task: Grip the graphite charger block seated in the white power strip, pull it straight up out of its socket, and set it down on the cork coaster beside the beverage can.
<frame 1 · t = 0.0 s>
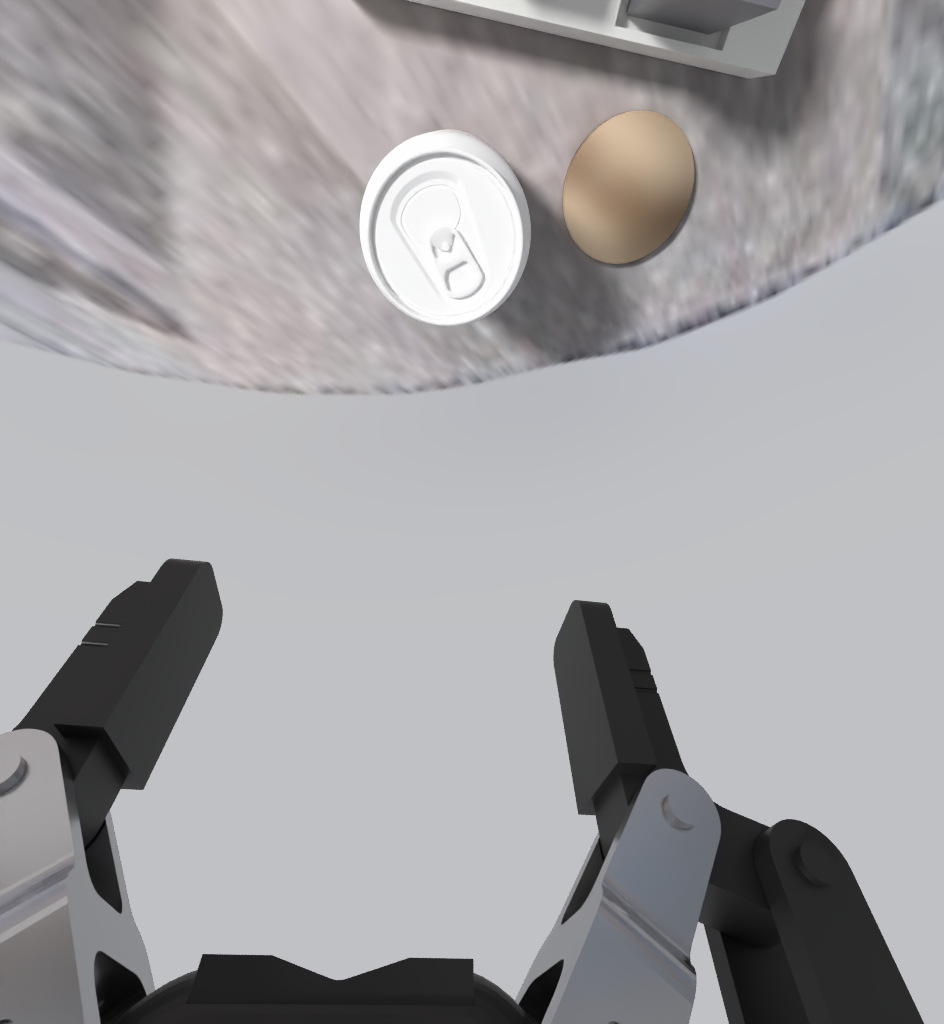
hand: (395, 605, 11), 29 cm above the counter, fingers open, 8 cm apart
coaster: (625, 192, 31), on the counter
beverage can: (450, 208, 31), on the counter
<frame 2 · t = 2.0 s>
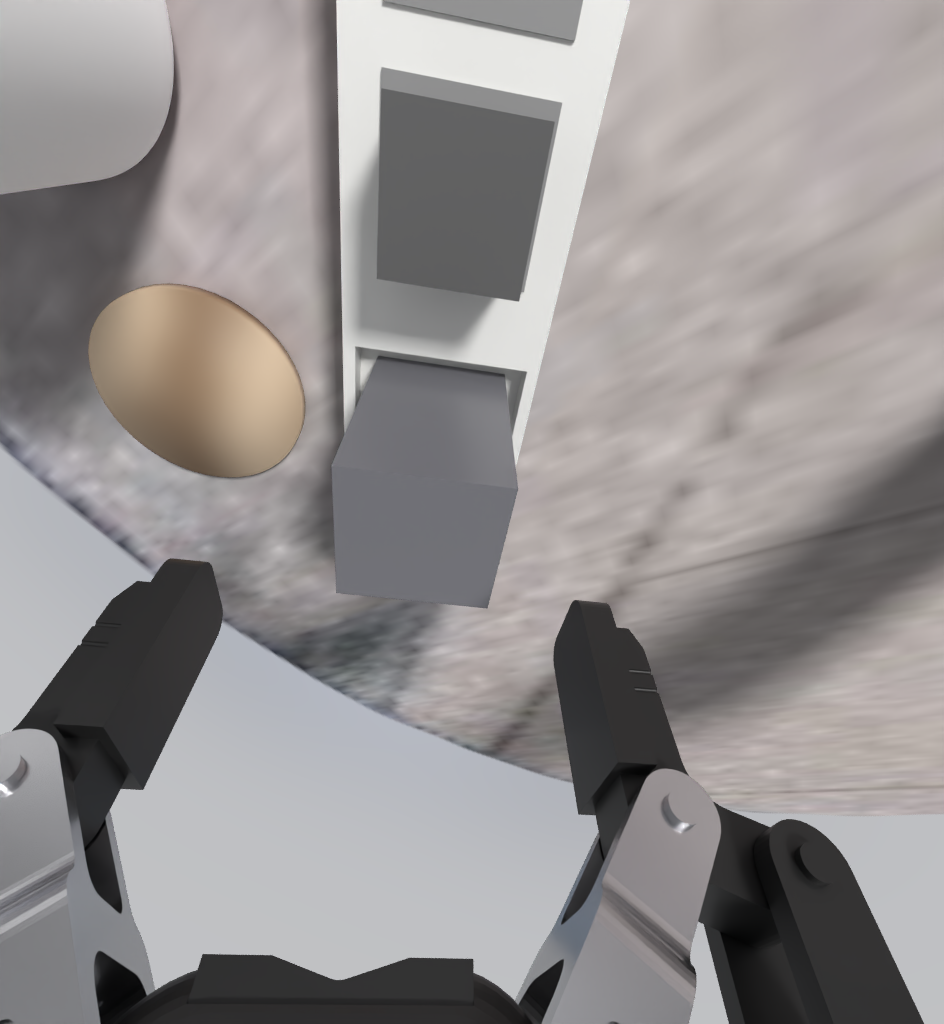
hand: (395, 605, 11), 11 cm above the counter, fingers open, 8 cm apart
power strip: (455, 251, 17), on the counter
coaster: (205, 388, 20), on the counter
charger: (435, 421, 18), point 2 cm above the counter, touching power strip
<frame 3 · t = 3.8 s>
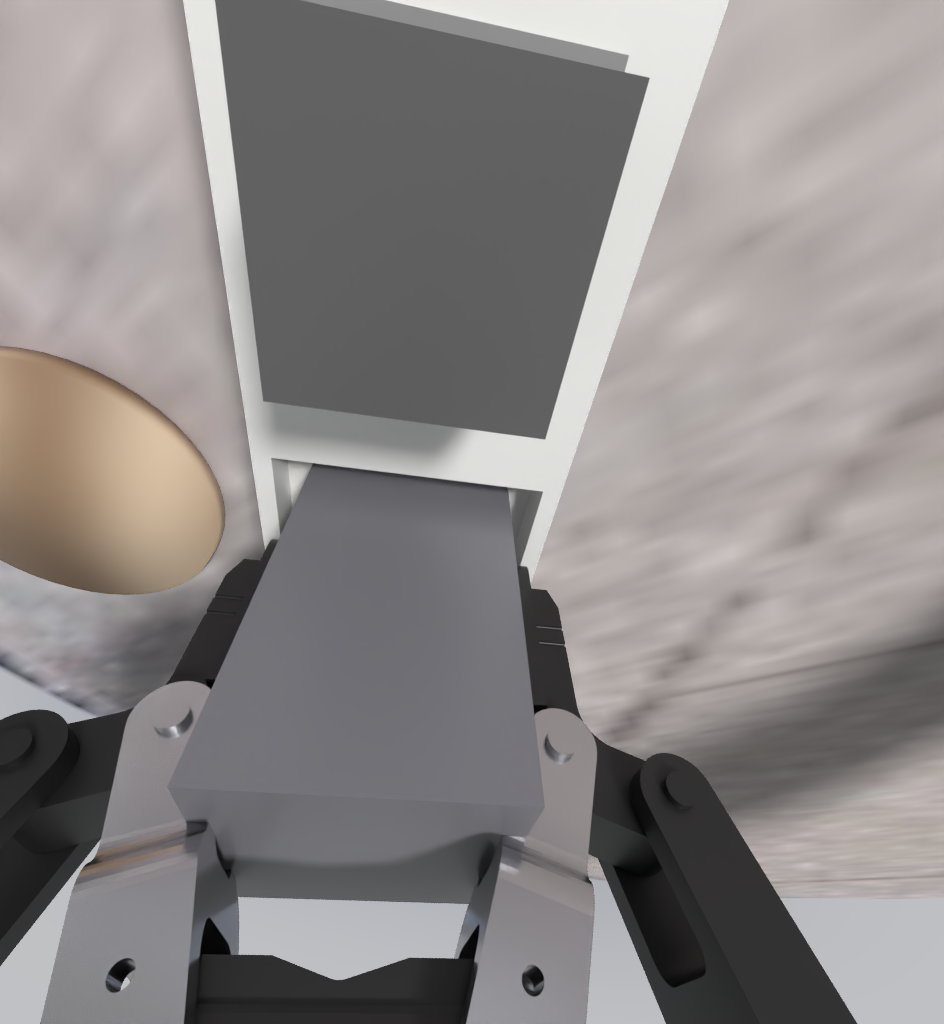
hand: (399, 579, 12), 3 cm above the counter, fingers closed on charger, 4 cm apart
power strip: (432, 302, 11), on the counter
coaster: (78, 484, 14), on the counter
charger: (406, 542, 13), point 2 cm above the counter, touching gripper, power strip
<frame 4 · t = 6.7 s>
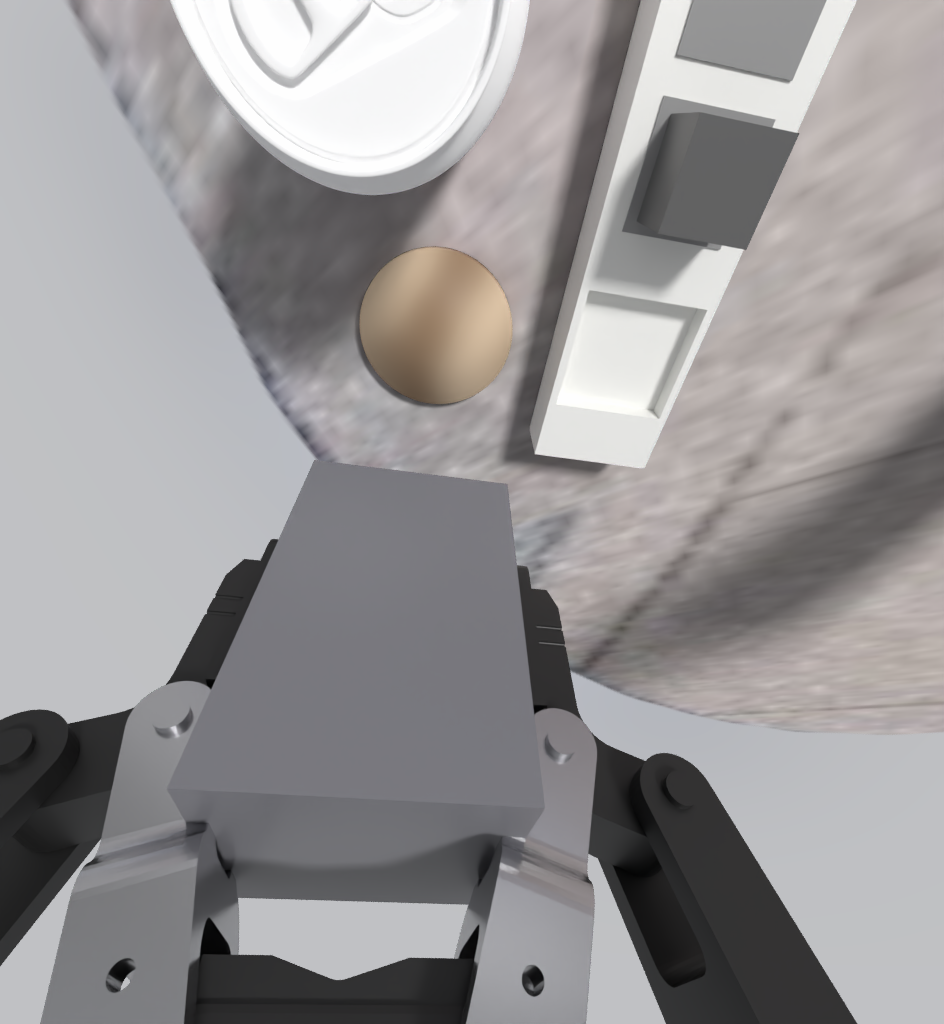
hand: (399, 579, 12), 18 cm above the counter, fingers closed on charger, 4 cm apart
power strip: (652, 223, 23), on the counter
coaster: (436, 330, 26), on the counter
charger: (405, 542, 13), point 17 cm above the counter, touching gripper
beverage can: (400, 42, 19), on the counter
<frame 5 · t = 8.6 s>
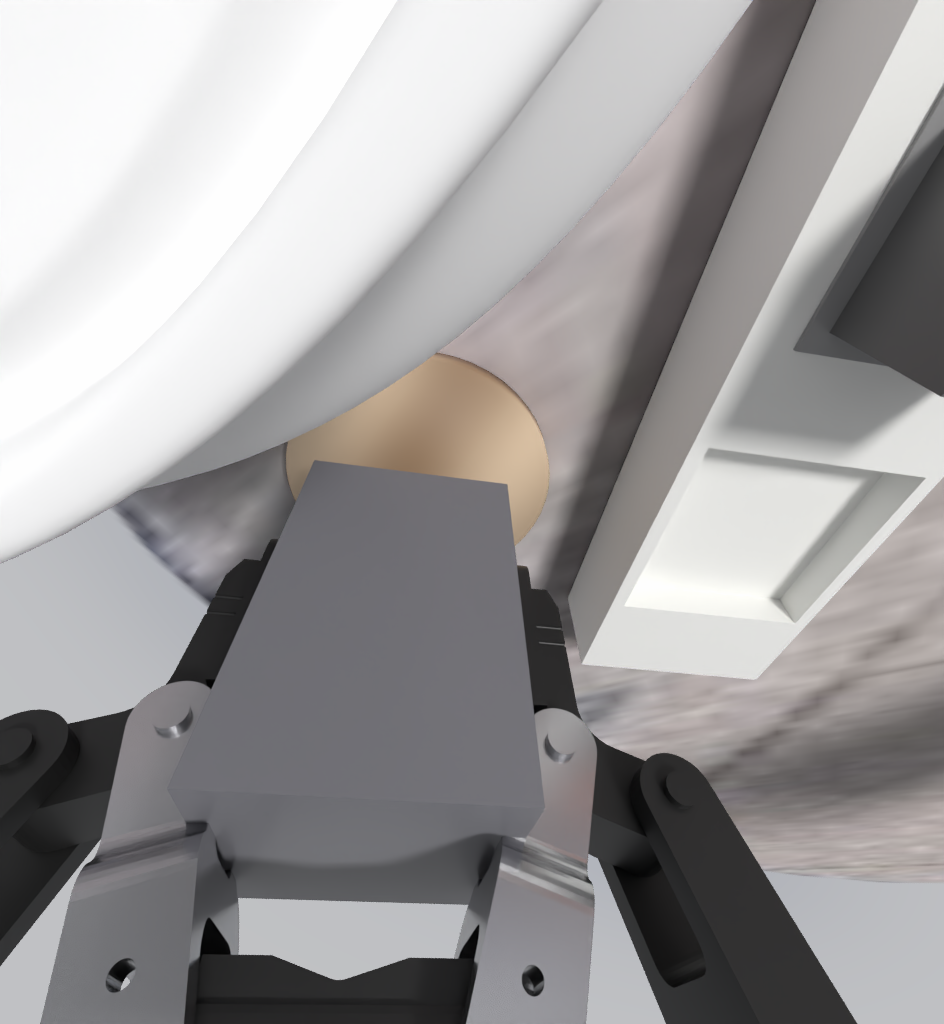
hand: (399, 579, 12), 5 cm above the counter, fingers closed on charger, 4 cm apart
power strip: (815, 312, 12), on the counter
coaster: (420, 474, 15), on the counter
charger: (405, 542, 13), point 3 cm above the counter, touching gripper
when the fingers open (2 cm above the counter, at t = 9.9 s): charger stays where it is, resting on coaster.
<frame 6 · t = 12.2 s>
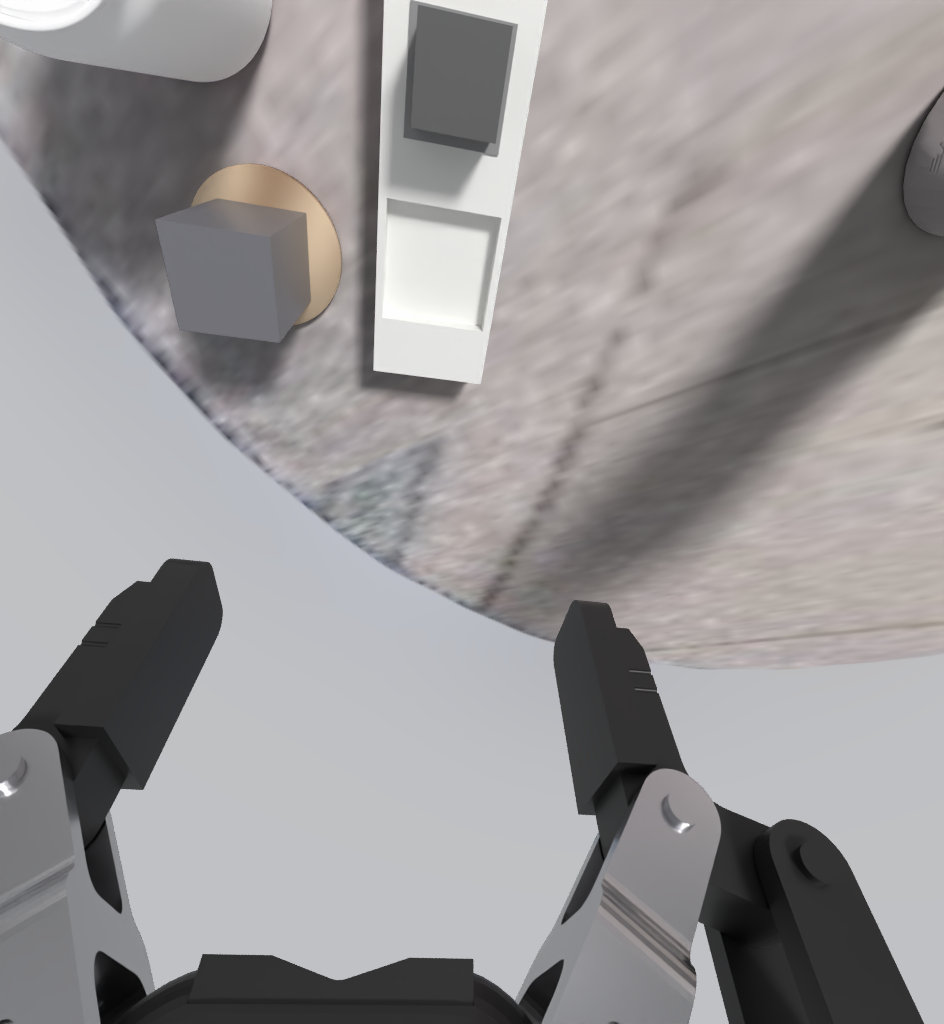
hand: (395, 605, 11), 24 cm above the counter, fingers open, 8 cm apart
power strip: (451, 139, 25), on the counter
coaster: (269, 250, 27), on the counter
charger: (267, 252, 27), point 1 cm above the counter, touching coaster
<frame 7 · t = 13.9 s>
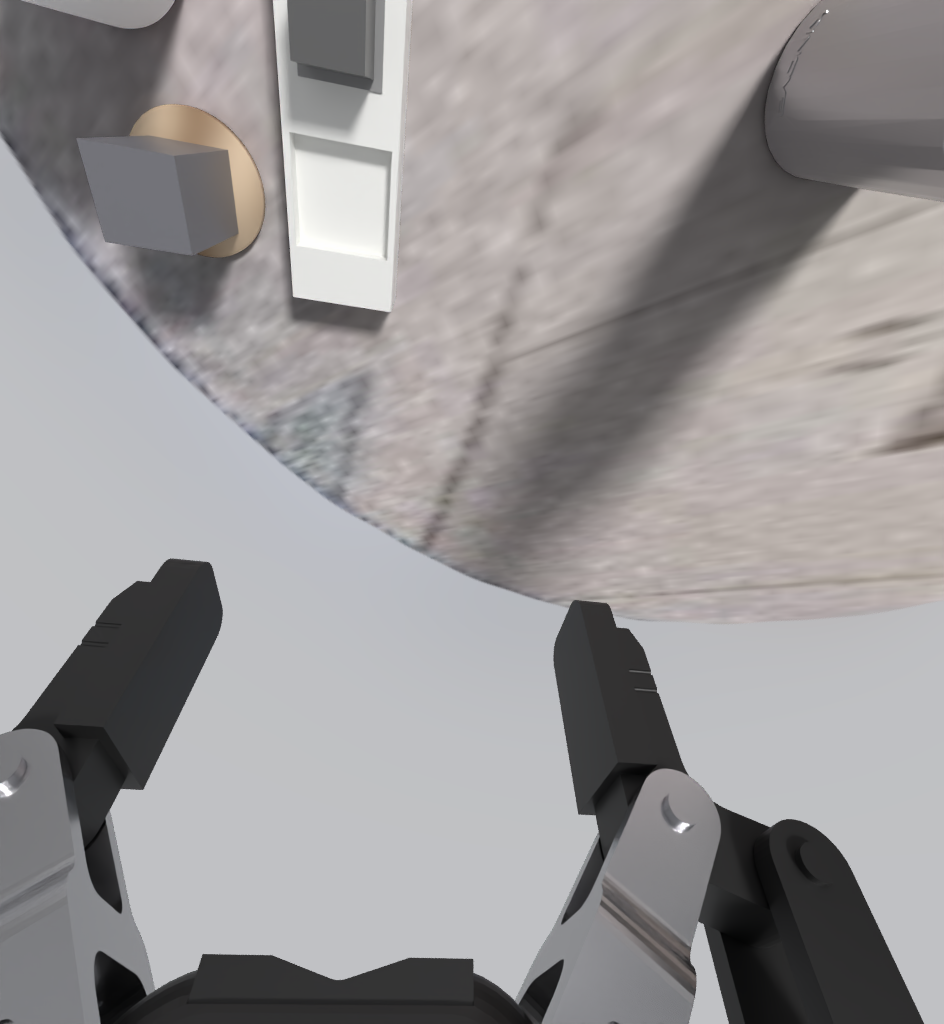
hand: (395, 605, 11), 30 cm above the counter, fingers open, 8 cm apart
power strip: (351, 83, 28), on the counter
coaster: (200, 186, 31), on the counter
charger: (196, 187, 30), point 1 cm above the counter, touching coaster
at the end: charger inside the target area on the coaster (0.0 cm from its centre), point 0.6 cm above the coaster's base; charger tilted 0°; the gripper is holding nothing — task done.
